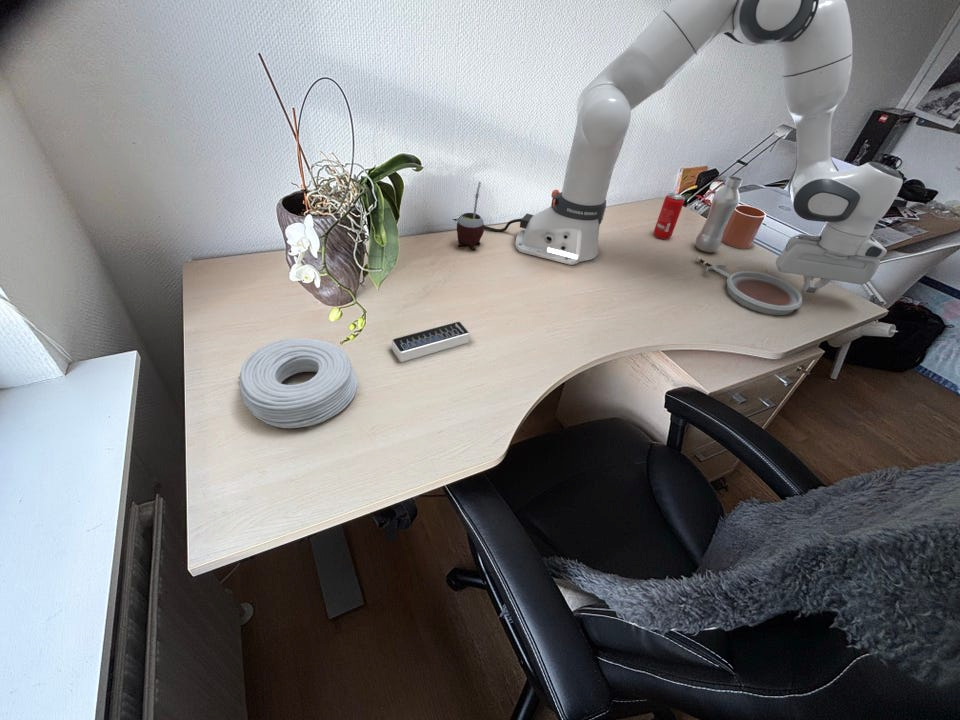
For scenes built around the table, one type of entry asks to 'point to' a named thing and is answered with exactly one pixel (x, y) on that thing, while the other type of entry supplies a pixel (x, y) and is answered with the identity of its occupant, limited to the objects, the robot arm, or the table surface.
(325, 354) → the cable
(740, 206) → the mug
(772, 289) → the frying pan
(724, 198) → the plastic bottle
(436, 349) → the multiport hub
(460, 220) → the mate gourd
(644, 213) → the table surface
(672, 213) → the beverage can
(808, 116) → the robot arm
